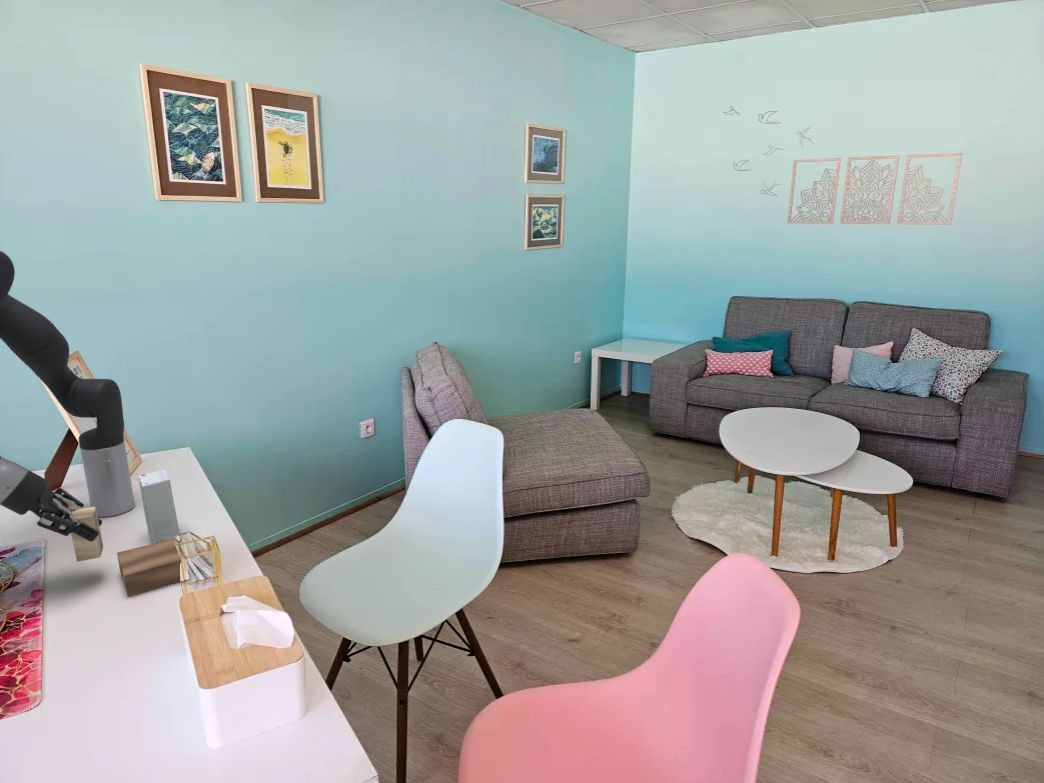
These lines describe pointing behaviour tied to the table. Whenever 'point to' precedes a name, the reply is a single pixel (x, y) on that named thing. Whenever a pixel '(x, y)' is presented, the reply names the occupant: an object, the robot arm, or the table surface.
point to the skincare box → (158, 506)
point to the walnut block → (150, 566)
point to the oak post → (81, 545)
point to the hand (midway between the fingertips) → (97, 531)
